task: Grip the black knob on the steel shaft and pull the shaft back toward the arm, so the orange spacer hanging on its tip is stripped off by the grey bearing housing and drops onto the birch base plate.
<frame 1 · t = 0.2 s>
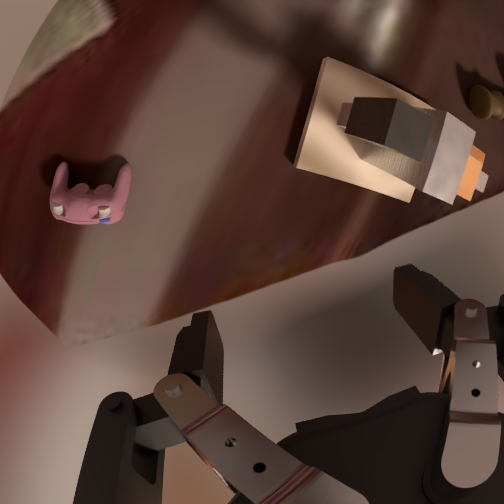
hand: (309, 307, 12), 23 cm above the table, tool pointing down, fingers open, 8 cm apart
kendama: (501, 105, 29), on the table
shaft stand: (356, 127, 30), on the table
spacer: (438, 159, 25), point 7 cm above the table, touching shaft
video game controller: (97, 184, 30), on the table
shaft: (447, 158, 19), point 13 cm above the table, slide at 0.0 cm, touching spacer
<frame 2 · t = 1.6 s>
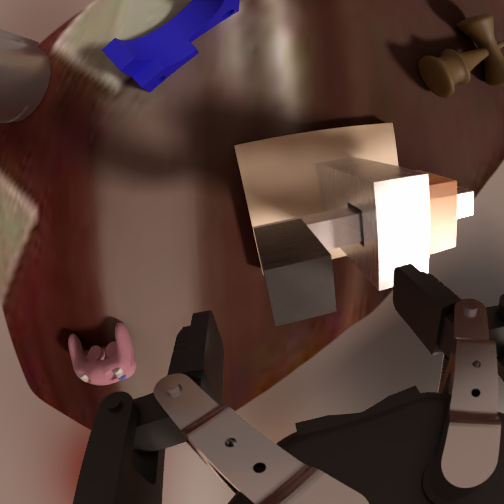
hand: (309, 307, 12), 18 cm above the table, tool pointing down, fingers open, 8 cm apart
kendama: (462, 58, 23), on the table
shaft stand: (307, 197, 29), on the table
spacer: (407, 201, 22), point 7 cm above the table, touching shaft
video game controller: (106, 342, 34), on the table
shaft: (401, 231, 17), point 13 cm above the table, slide at 0.0 cm, touching spacer
cable clip: (185, 40, 22), on the table
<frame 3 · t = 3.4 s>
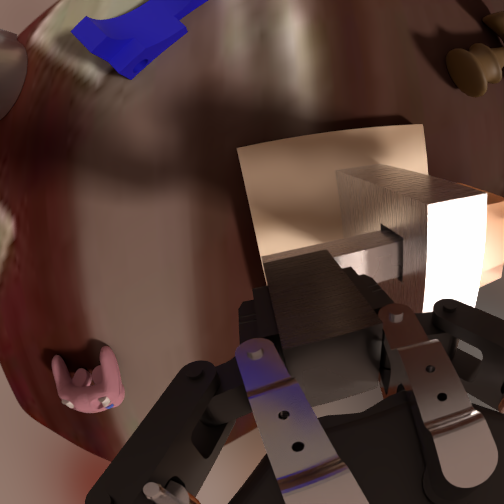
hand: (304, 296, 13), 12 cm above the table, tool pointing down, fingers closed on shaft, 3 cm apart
kendama: (489, 55, 18), on the table
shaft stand: (323, 211, 24), on the table
spacer: (445, 220, 17), point 7 cm above the table, touching shaft
video game controller: (93, 365, 29), on the table
shaft: (451, 265, 12), point 13 cm above the table, slide at 0.0 cm, touching gripper, spacer
cable clip: (172, 18, 18), on the table
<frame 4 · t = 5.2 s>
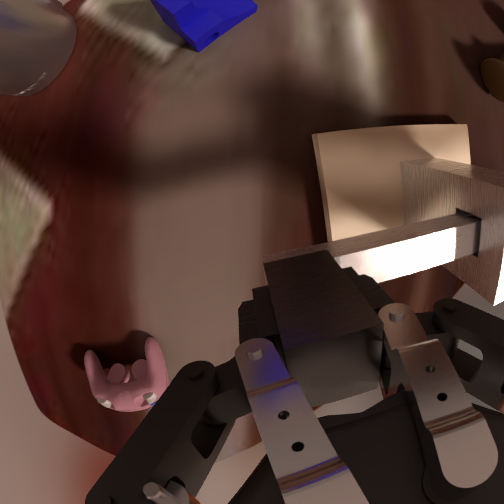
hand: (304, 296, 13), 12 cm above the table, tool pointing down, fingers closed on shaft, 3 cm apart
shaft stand: (385, 199, 24), on the table
video game controller: (131, 359, 29), on the table
shaft: (450, 266, 12), point 13 cm above the table, slide at 6.0 cm, touching gripper
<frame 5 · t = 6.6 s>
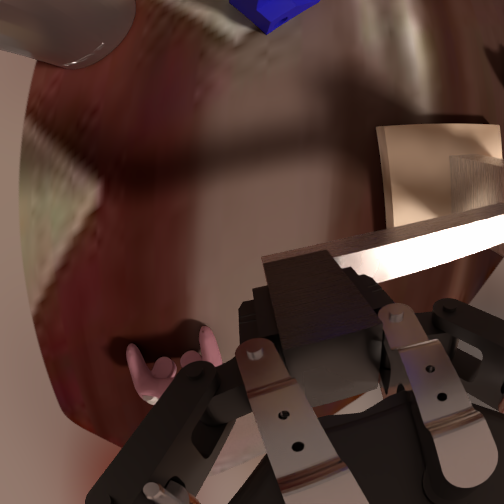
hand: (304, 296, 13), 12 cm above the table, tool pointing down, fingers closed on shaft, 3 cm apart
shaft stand: (434, 190, 24), on the table
video game controller: (178, 351, 29), on the table
shaft: (451, 266, 12), point 13 cm above the table, slide at 11.9 cm, touching gripper
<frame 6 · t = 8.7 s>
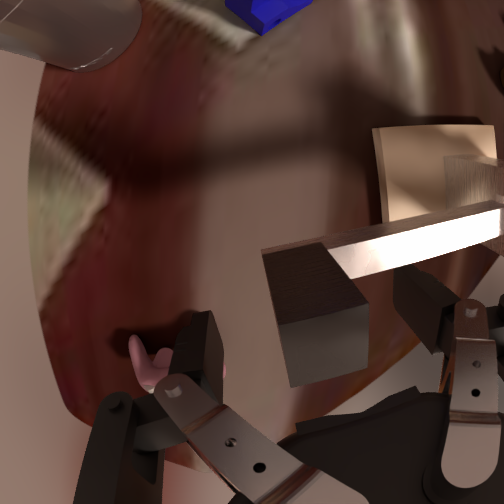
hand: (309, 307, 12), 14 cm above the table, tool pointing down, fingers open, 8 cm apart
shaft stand: (429, 189, 25), on the table
video game controller: (179, 342, 30), on the table
shaft: (439, 257, 13), point 13 cm above the table, slide at 11.9 cm
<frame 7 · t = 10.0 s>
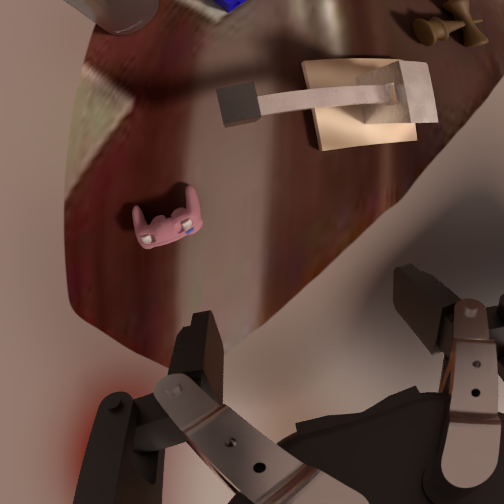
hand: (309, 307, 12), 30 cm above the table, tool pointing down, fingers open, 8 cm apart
kendama: (446, 28, 31), on the table
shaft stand: (350, 102, 36), on the table
video game controller: (170, 212, 41), on the table
shaft: (316, 95, 24), point 13 cm above the table, slide at 11.9 cm
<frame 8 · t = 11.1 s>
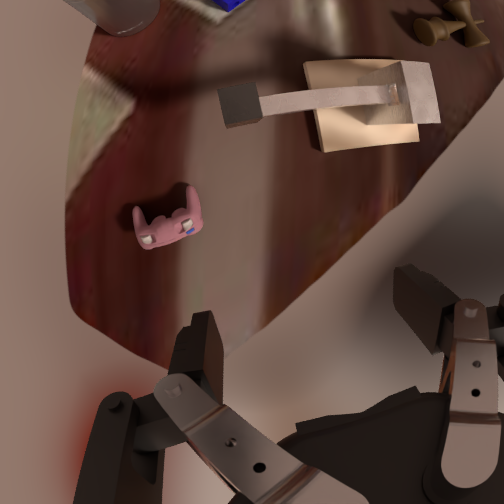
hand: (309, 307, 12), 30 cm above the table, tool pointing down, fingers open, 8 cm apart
kendama: (447, 28, 30), on the table
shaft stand: (351, 103, 36), on the table
video game controller: (170, 213, 41), on the table
shaft: (318, 96, 24), point 13 cm above the table, slide at 11.9 cm
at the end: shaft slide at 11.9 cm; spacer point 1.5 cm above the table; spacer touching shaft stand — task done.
